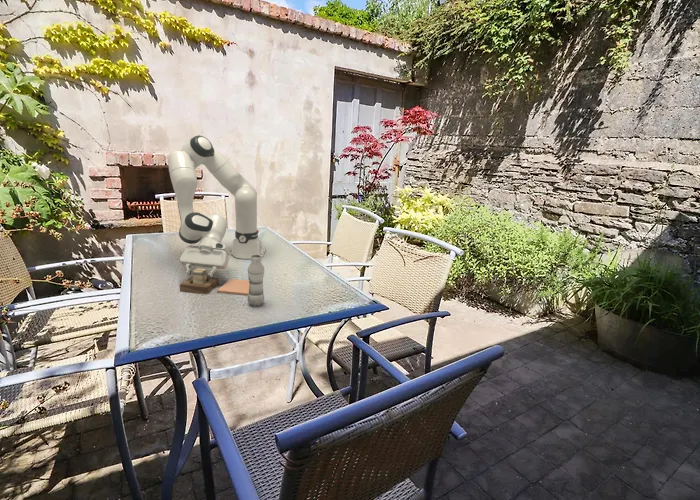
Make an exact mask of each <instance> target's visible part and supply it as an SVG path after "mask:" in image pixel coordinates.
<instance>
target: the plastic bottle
mask: <svg viewBox="0 0 700 500" xmlns="http://www.w3.org/2000/svg"><path fill="white" fill-rule="evenodd" d="M250 261H251V263H250V264H249V265H248V267H247V275H248V281H249V293H248V296H247V303H248V304H249V305H250V306H254V307H257V306H261V305H263V303H264V302H265V294H264V275H265V267H264V265H263V263H262V262H261V261H262V257H261V256H260V255H252V256H251V259H250Z"/></svg>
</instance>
